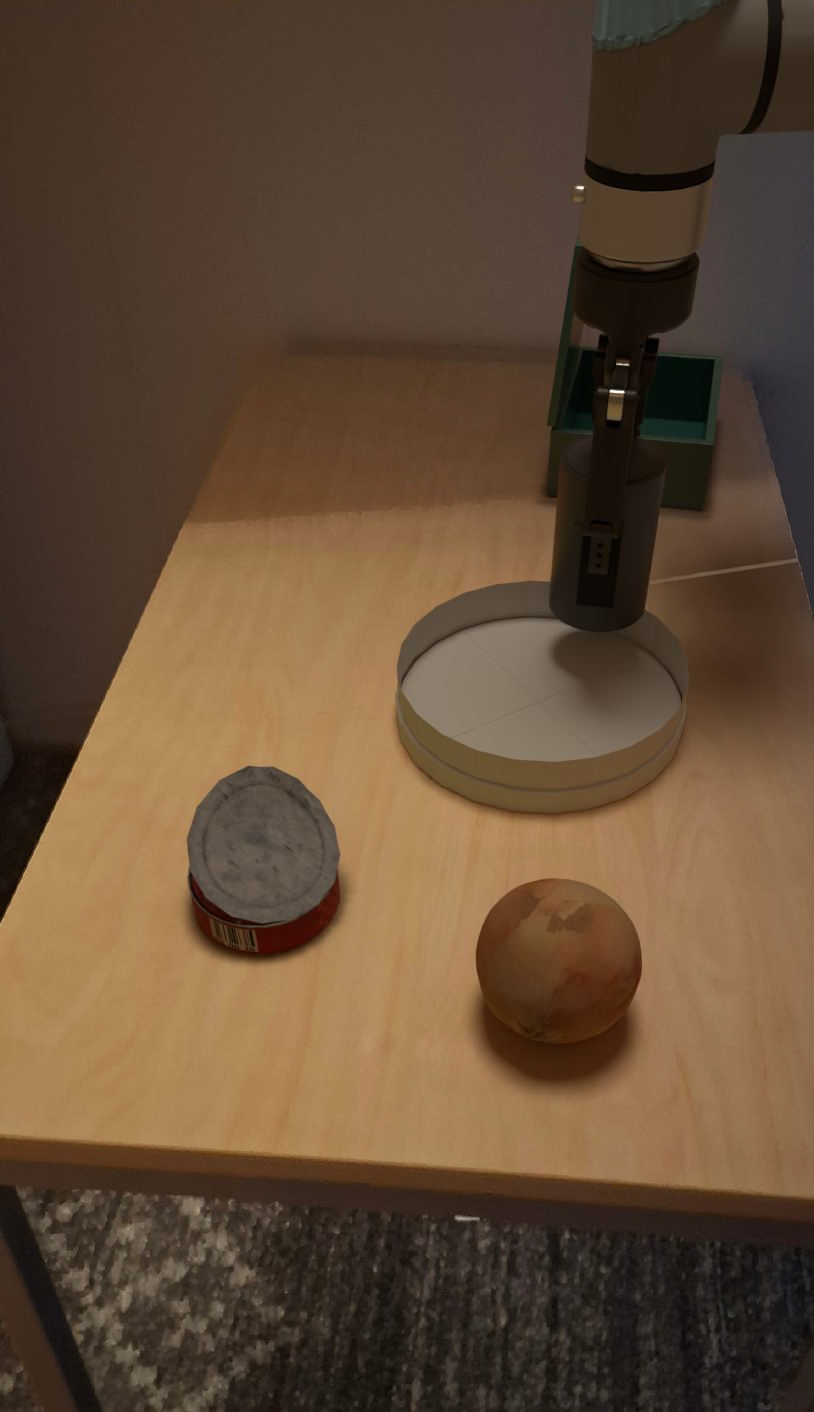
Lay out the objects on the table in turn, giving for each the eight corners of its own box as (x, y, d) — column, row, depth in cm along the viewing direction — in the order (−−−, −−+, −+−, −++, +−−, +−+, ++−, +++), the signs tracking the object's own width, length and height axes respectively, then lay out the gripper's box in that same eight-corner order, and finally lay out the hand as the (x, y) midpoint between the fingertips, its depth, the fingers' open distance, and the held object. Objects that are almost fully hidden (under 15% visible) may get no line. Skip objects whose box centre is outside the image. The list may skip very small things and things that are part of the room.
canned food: (326, 899, 84) (387, 810, 78) (293, 1001, 77) (356, 912, 71) (184, 829, 82) (234, 731, 76) (135, 926, 75) (186, 827, 68)
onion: (634, 954, 75) (655, 846, 67) (629, 1086, 68) (651, 983, 61) (484, 937, 76) (488, 829, 68) (464, 1065, 69) (466, 962, 62)
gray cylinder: (626, 571, 93) (645, 426, 84) (659, 624, 88) (683, 477, 79) (537, 584, 92) (547, 439, 83) (565, 638, 87) (578, 491, 78)
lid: (609, 172, 106) (600, 170, 106) (584, 246, 94) (574, 245, 94) (580, 341, 117) (572, 340, 117) (555, 427, 106) (546, 425, 106)
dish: (497, 858, 80) (499, 807, 77) (345, 688, 93) (341, 636, 90) (743, 744, 88) (756, 692, 84) (570, 601, 101) (575, 550, 97)
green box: (711, 426, 121) (723, 356, 115) (700, 518, 109) (714, 444, 103) (570, 415, 123) (576, 345, 118) (545, 504, 111) (550, 431, 106)
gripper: (596, 189, 78) (569, 499, 95) (554, 312, 65) (531, 647, 82) (710, 194, 77) (662, 508, 94) (690, 322, 64) (638, 659, 81)
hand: (601, 572), depth 88 cm, fingers closed on gray cylinder, 7 cm apart
